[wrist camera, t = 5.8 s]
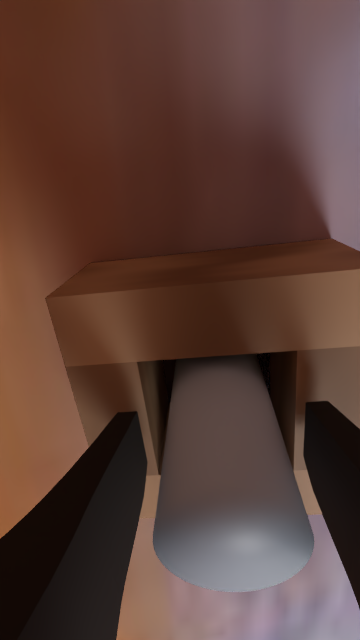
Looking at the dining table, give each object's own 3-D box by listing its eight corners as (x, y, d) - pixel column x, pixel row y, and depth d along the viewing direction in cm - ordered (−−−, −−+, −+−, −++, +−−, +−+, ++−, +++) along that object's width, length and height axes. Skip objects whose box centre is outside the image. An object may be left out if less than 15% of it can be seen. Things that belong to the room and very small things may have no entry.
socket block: (331, 238, 12) (391, 266, 8) (318, 432, 15) (355, 513, 12) (89, 263, 13) (44, 298, 9) (130, 441, 16) (109, 519, 12)
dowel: (255, 316, 13) (326, 492, 6) (250, 383, 14) (303, 595, 7) (176, 316, 13) (147, 486, 6) (178, 382, 15) (156, 588, 7)
